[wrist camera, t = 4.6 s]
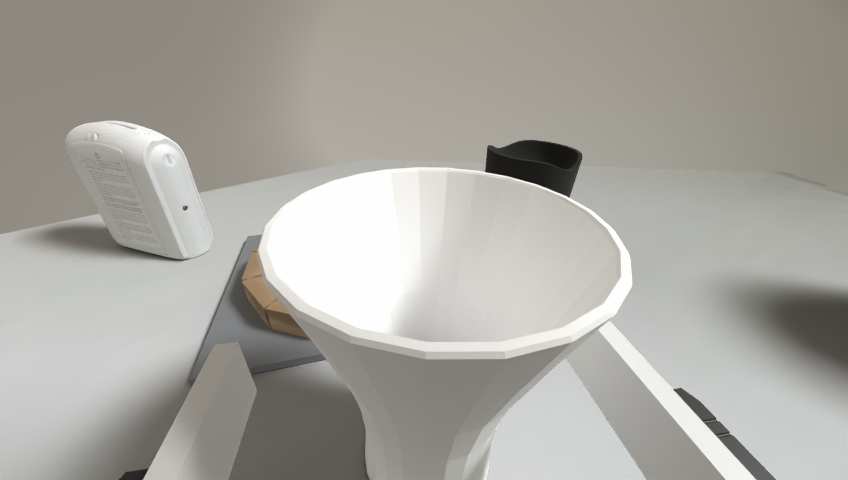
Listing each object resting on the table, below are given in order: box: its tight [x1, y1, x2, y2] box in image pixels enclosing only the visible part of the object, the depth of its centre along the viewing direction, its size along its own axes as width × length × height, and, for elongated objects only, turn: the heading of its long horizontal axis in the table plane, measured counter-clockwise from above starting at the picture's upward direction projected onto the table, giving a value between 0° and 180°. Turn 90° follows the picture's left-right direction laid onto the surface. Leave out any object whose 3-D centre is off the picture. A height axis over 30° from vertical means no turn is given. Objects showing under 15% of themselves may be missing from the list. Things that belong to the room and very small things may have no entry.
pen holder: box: [485, 140, 582, 198], centre depth 35 cm, size 9×9×10 cm
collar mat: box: [189, 235, 326, 386], centre depth 29 cm, size 20×18×1 cm
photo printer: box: [65, 121, 214, 259], centre depth 30 cm, size 10×4×12 cm, turn 74°
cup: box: [256, 167, 632, 480], centre depth 13 cm, size 10×10×14 cm
